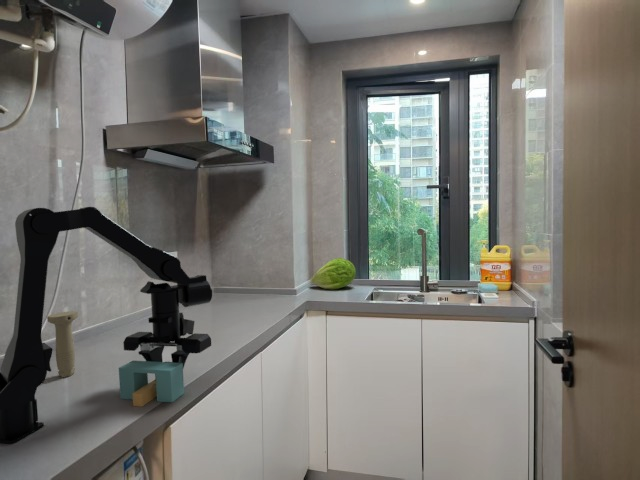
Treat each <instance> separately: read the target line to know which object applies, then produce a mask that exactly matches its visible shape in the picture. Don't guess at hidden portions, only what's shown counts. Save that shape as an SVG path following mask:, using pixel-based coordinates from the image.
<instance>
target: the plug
mask: <svg viewBox="0 0 640 480" xmlns="http://www.w3.org/2000/svg"><path fill="white" fill-rule="evenodd" d="M170 362H171V363H172V361H170ZM154 378H155V379H154V380H152V381H150V382H148V384H147V385H145V386H144V387H142V388H141V389H139V390H137V391H136V392H134V393H133V399H132V406H133V407H144V406H145V405H147V404H148V403H149V402H151V401H152V400H154V399H155V398H157V389H156V374H154Z"/></svg>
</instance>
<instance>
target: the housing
mask: <svg viewBox="0 0 640 480" xmlns="http://www.w3.org/2000/svg"><path fill="white" fill-rule="evenodd" d="M171 362H172V361H163V362H151V361H146V360H132V361H129V362H128V363H125V364H123V365H121V366H120V367H118V377H119V378H118V379H119V395H120V399H122V400H124V399H125V400H133V393H134V392H136V391H137V390H139V389H141V388H142V387H144V386H145V385H147V384H149V380H148V379H149V378H148V377H149V376H148V374H152V375H153V374H154V375H155V374H156V389H157V397H156V400H157V401H156V402H159V403H160V402H161V403H174V402H175V401H177V399H178V398H180V397H181V396H182V395H184V394H185V385H184V384H185V383H184V381H185V379H184V368H183V363H171Z"/></svg>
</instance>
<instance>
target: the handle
mask: <svg viewBox="0 0 640 480" xmlns="http://www.w3.org/2000/svg"><path fill="white" fill-rule="evenodd" d="M78 316H79V314H78V311H77V310H76V311H74V310H69V311H62V312H57V313H52V314H50V315H49V314H48V315H47V316H46V319H47V322H48V323H50V324H53V325H54V328H55V361H56V367H57V370H58V371H57V372H58V373H57V374H58V376H59V377H61V378H66V377H71V376H72V375H74V374H75V369H76V368H74V367H75V363H76V349H75V344H74V336H73V329H72V327H73V326H72V323H73V322H74V320H76V319H77V318H78Z"/></svg>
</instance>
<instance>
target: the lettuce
mask: <svg viewBox="0 0 640 480" xmlns="http://www.w3.org/2000/svg"><path fill="white" fill-rule="evenodd" d="M356 271H357V270H356V267H355V265H354V263H353V262H351V261H350V260H348V259H345V258H343V257H337V258H335V259H331V260H330V261H327V263H325V265H323V266H322V267H320V269H318V270H317V272H316V273H315V274H314V275H313V276H312V277H311V278H310V283H311V284H312V285H313V286H318V287H320V288H322V289H325V290H334V291H335V290H338V289H342V288H343V287H346V286H349V285H351V284H352V282H353V281H354V280H355V278H356V273H357V272H356Z"/></svg>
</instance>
